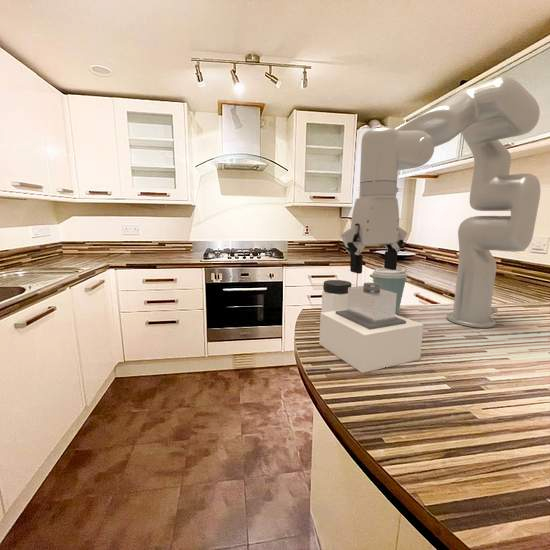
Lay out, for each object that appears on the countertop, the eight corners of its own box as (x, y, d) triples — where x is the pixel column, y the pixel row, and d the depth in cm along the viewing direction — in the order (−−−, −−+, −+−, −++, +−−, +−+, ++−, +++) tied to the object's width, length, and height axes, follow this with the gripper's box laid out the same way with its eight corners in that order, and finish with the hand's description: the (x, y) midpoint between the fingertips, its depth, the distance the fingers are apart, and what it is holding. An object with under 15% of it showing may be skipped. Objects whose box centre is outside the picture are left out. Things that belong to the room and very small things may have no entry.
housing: (366, 309, 76) (368, 279, 75) (394, 319, 68) (397, 287, 67) (346, 312, 74) (348, 281, 73) (373, 323, 66) (375, 289, 65)
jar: (326, 315, 100) (327, 278, 98) (352, 319, 96) (354, 281, 94) (318, 323, 92) (319, 283, 89) (346, 327, 88) (348, 286, 86)
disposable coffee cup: (382, 320, 96) (385, 272, 93) (363, 310, 106) (366, 266, 103) (411, 317, 98) (415, 270, 96) (390, 308, 109) (393, 265, 106)
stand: (370, 334, 83) (372, 303, 82) (420, 359, 69) (423, 321, 67) (319, 344, 77) (320, 310, 75) (362, 373, 62) (364, 332, 61)
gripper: (394, 193, 73) (390, 265, 76) (333, 192, 66) (331, 271, 69) (421, 191, 66) (415, 270, 70) (356, 189, 60) (352, 277, 63)
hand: (373, 270), depth 70 cm, fingers open, 9 cm apart
